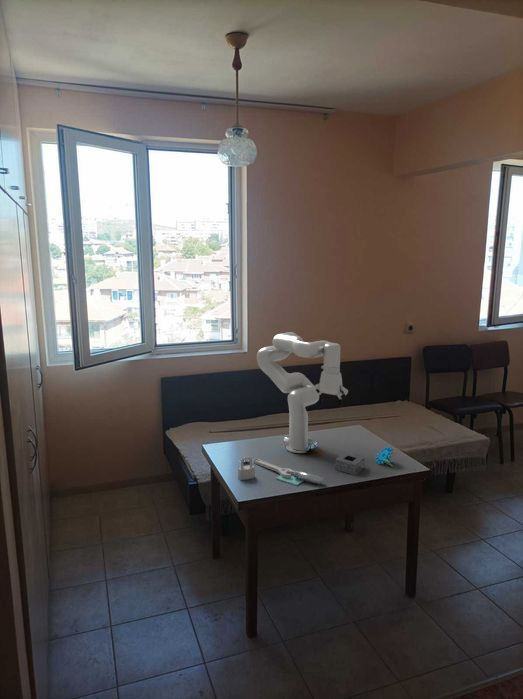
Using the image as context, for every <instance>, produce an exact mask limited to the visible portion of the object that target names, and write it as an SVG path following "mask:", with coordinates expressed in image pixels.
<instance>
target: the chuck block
mask: <svg viewBox="0 0 523 699" xmlns="http://www.w3.org/2000/svg"><path fill="white" fill-rule="evenodd" d="M365 459H366V457H363V456H360V455H356V454H352V453H348V452H344V453H343V454H340V456H338V457H337V458H335V460H334V461H335V462H334V464H335V466H334V467H335V468H334V469H335V470H336V471H338V472H339V471H340V472H342V473H345V474H348V475H349V474H351V475H354V476H356V475H357V474H358V473H359V472H361V471H362V470H363V469H364V468H365Z"/></svg>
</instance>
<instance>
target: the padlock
mask: <svg viewBox="0 0 523 699" xmlns="http://www.w3.org/2000/svg"><path fill="white" fill-rule="evenodd" d="M246 460H249V464H248V465H244V461H246ZM237 470H238V471H237V477H238V479H239V480H240V481H246V480H250V479H255V478H256V467H255V466H254V464H253V459H252V457H251V456H244V457H243V458H242V459H241V460H240V467H238V468H237Z"/></svg>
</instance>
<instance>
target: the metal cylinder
mask: <svg viewBox="0 0 523 699" xmlns="http://www.w3.org/2000/svg"><path fill="white" fill-rule="evenodd" d="M294 471H295V474H294V478H297V479H301V480H305V481H306V482H309V483H312V484H316V485H320V486H321V485H322V484H323V480H324V477H323V476H320V475H316V474H312V473H309V472H304V471H301V470H298V469H297V470H294ZM305 481H304V482H305Z"/></svg>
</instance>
